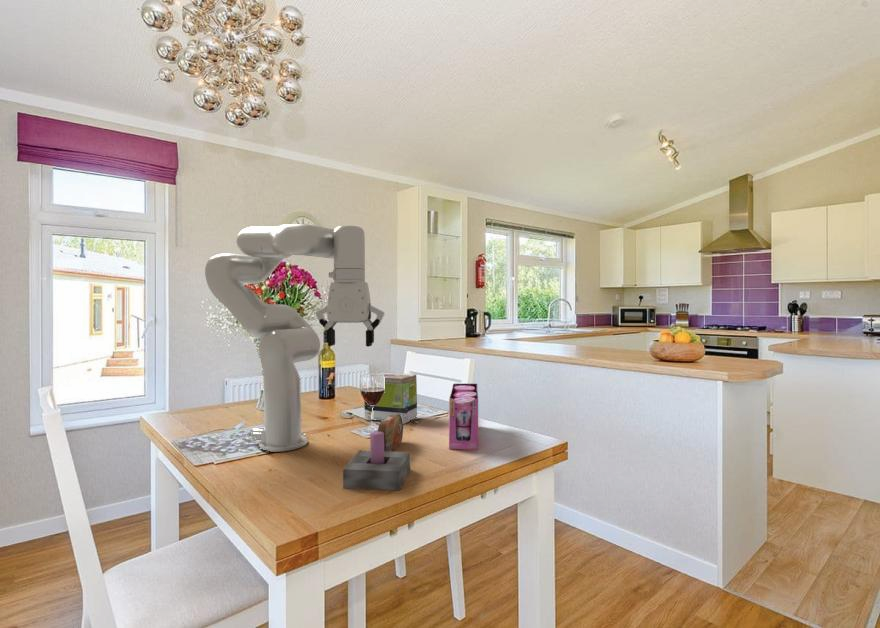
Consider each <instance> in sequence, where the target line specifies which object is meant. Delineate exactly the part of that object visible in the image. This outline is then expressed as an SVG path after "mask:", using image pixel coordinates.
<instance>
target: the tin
mask: <svg viewBox="0 0 880 628" xmlns="http://www.w3.org/2000/svg"><path fill="white" fill-rule="evenodd" d="M403 425H404V424H403V423H402V418H401V416H400V415H399V414H397V415H389V416H388V417H387V418H386V419H384V420H383V421H380V423H379V425H378V428H377V431H376V432H383V433H384V451H391V452H396V450H397V448H399V447H400V445H401V444H402V440H403V433H404V426H403Z"/></svg>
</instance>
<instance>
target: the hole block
mask: <svg viewBox="0 0 880 628" xmlns="http://www.w3.org/2000/svg"><path fill="white" fill-rule="evenodd" d="M410 471H411V451H394V452H391V451H384V464H371V453H370V450H361V449H360V450H359V451H358V452H357V453H356V454H355V455H354V456H353V458H352V459H351V460H350V461H349V462H348V463H347V464H346V465H345V467H344V468H342V484H343V485H342V486H343V487H342V488H343V489H357V490H358V489H359V490H360V489H361V490H381V491H382V490H383V491H400V490H401V487H402V486H403V484H404V482H405V480H406V478H407V476H408V475H409V472H410Z"/></svg>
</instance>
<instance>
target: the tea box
mask: <svg viewBox="0 0 880 628" xmlns="http://www.w3.org/2000/svg"><path fill="white" fill-rule="evenodd" d="M381 373H382V374H383V375H384V377H385V393H384V394H383V397H382V399H381V400H380V402H379V403H378V404H377V405H375V406H374V408H373V411H374V419H376V420H382V421H383V420H384V419H386V418H387V417H388V416H389V415H397V414H399V415H400V416H401V418H402V423H403V425H404V424H406V423H409V422H411V421H410V419H412V418H414V417H416V416H417V417H418V392H417V391H418V389H417V386H418V385H417V374H414V373H397V372H395V373H393V372H381ZM363 402H364V404H363V405H364V420H365V421H372V420H371V413H372V407H371V406H370V405H368V404H367V403H366V402H365V401H364V400H363ZM382 421H381V422H382Z"/></svg>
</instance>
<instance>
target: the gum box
mask: <svg viewBox="0 0 880 628" xmlns="http://www.w3.org/2000/svg"><path fill="white" fill-rule="evenodd" d="M478 391H479V390H478V383H453V384H452V389H451V392H450V395H449V398H448V399H449V400H448V401H449V403H448V406H449V407H448V412H449V419H448V420H449V425H448V428H449V429H448V450H471V451H477V450H479V394H478Z"/></svg>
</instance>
